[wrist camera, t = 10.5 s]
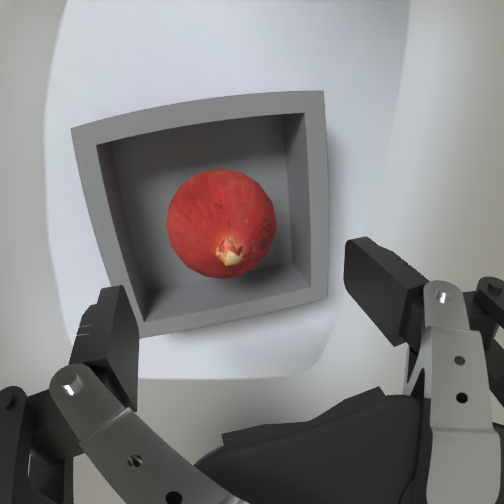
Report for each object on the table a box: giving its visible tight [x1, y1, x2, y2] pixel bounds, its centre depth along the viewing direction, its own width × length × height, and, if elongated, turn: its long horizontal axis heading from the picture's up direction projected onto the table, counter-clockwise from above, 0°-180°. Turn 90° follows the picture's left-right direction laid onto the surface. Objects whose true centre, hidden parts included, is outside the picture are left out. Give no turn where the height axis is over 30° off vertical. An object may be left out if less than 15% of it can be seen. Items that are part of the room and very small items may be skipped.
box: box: [71, 91, 329, 339], centre depth 19 cm, size 13×13×4 cm
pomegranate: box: [166, 168, 277, 279], centre depth 17 cm, size 6×6×8 cm
